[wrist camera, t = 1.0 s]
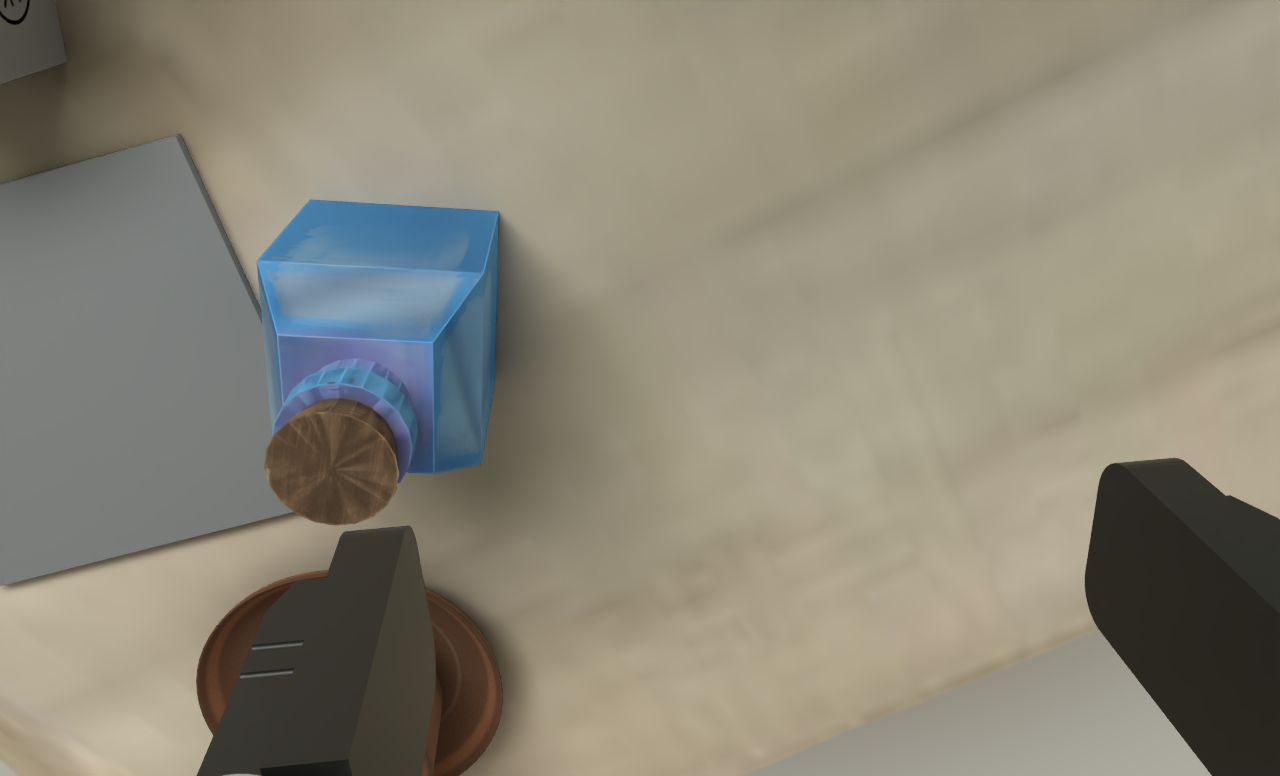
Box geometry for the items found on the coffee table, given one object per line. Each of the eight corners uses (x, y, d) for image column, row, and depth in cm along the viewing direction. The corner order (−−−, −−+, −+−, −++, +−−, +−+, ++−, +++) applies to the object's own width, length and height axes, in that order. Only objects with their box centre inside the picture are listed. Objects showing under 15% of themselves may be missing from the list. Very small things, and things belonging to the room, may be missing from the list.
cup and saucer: (402, 808, 46) (379, 933, 40) (158, 689, 42) (95, 809, 37) (562, 640, 42) (561, 753, 37) (310, 493, 38) (266, 594, 33)
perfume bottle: (495, 377, 37) (462, 579, 26) (320, 369, 36) (211, 571, 25) (498, 211, 34) (463, 358, 23) (309, 199, 33) (183, 345, 23)
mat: (180, 133, 32) (175, 136, 32) (345, 493, 38) (342, 499, 38) (-224, 245, 33) (-233, 249, 33) (1, 580, 39) (-4, 586, 39)
